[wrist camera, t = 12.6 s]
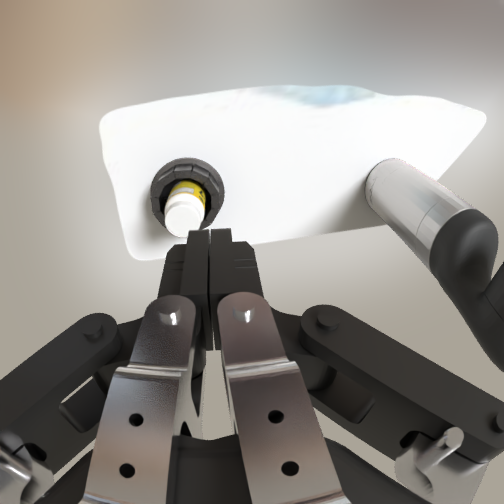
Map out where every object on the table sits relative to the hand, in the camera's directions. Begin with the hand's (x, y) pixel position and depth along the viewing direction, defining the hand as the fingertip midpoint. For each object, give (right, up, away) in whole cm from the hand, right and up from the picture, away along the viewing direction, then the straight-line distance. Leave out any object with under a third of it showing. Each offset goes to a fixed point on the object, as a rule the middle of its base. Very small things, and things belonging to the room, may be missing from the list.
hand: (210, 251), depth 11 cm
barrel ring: (-7, +8, +29) cm, 31 cm away
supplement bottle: (-7, +8, +28) cm, 30 cm away
